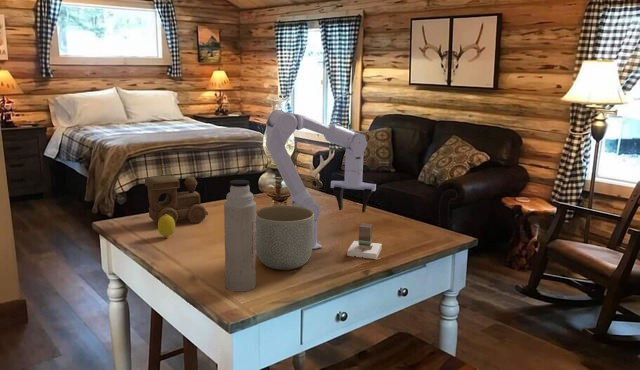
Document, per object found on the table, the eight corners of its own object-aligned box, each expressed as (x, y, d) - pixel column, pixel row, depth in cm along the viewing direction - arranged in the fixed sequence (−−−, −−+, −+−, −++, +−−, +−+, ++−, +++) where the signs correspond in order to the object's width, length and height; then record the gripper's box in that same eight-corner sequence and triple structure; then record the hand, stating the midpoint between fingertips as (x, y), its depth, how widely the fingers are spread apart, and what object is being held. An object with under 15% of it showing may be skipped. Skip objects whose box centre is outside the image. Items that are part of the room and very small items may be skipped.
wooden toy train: (153, 230, 188) (151, 182, 184) (145, 221, 197) (143, 176, 194) (209, 222, 198) (208, 177, 194) (199, 214, 207) (198, 171, 204)
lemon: (154, 238, 179) (153, 214, 177) (166, 234, 184) (165, 211, 182) (167, 241, 177) (166, 217, 175) (179, 236, 181) (178, 213, 180)
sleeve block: (376, 259, 166) (376, 253, 165) (347, 255, 168) (347, 250, 167) (381, 248, 175) (381, 243, 175) (353, 245, 177) (354, 240, 177)
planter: (282, 250, 172) (283, 202, 168) (324, 263, 161) (326, 212, 158) (242, 264, 159) (242, 213, 155) (285, 280, 148) (286, 225, 145)
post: (369, 246, 169) (370, 227, 167) (358, 245, 170) (359, 226, 168) (371, 242, 172) (372, 224, 171) (360, 241, 173) (361, 223, 172)
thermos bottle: (259, 281, 147) (260, 178, 141) (250, 293, 139) (250, 185, 133) (231, 278, 149) (230, 176, 142) (220, 289, 141) (218, 183, 135)
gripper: (378, 169, 178) (376, 209, 181) (334, 165, 182) (333, 205, 185) (374, 173, 172) (372, 215, 175) (329, 169, 175) (328, 210, 178)
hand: (352, 210), depth 179 cm, fingers open, 7 cm apart
